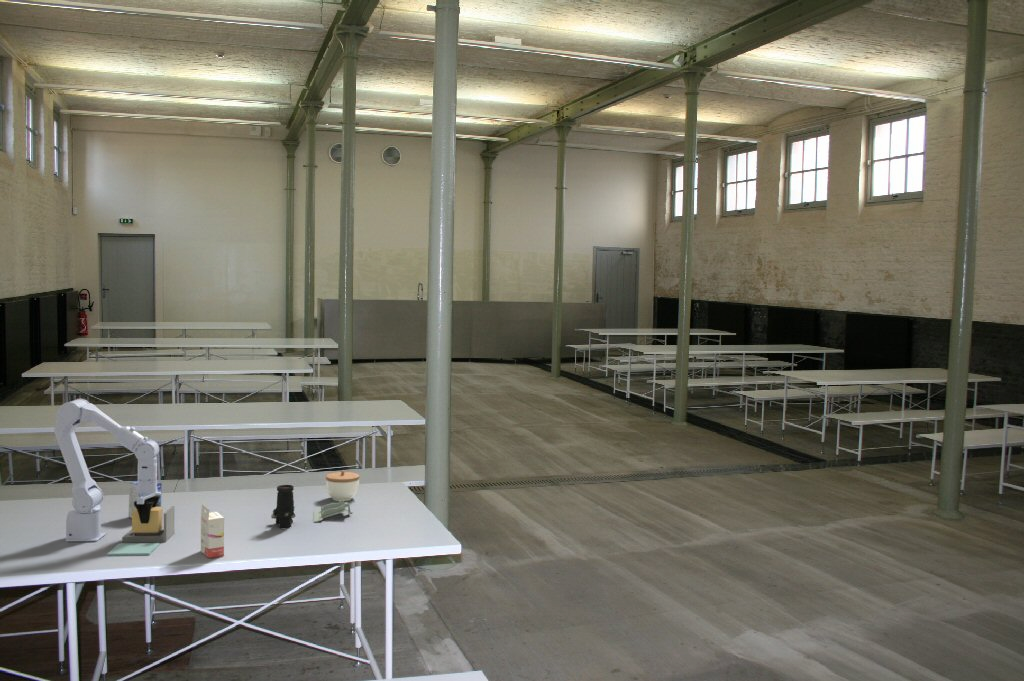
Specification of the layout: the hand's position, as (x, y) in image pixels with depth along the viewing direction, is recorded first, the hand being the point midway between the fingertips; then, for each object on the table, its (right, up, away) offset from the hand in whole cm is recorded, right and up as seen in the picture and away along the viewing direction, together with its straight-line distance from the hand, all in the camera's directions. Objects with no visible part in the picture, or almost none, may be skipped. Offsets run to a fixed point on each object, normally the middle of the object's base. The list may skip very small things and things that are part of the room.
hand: (147, 521), depth 270 cm
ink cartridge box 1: (-11, -4, +23) cm, 26 cm away
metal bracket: (+52, -6, +31) cm, 61 cm away
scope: (+39, -6, +17) cm, 43 cm away
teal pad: (+1, -6, -13) cm, 14 cm away
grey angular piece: (0, -5, 0) cm, 5 cm away
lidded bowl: (+51, -4, +55) cm, 75 cm away
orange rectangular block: (0, -3, 0) cm, 3 cm away
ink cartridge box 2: (+26, -7, -14) cm, 30 cm away
